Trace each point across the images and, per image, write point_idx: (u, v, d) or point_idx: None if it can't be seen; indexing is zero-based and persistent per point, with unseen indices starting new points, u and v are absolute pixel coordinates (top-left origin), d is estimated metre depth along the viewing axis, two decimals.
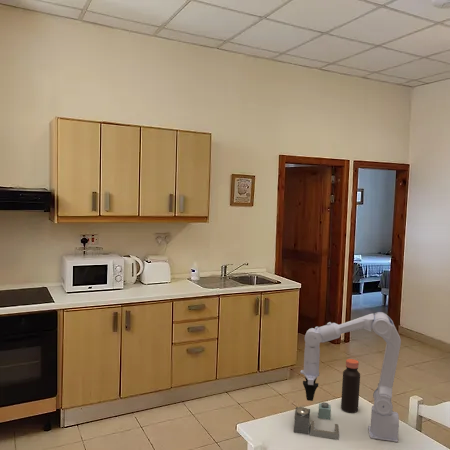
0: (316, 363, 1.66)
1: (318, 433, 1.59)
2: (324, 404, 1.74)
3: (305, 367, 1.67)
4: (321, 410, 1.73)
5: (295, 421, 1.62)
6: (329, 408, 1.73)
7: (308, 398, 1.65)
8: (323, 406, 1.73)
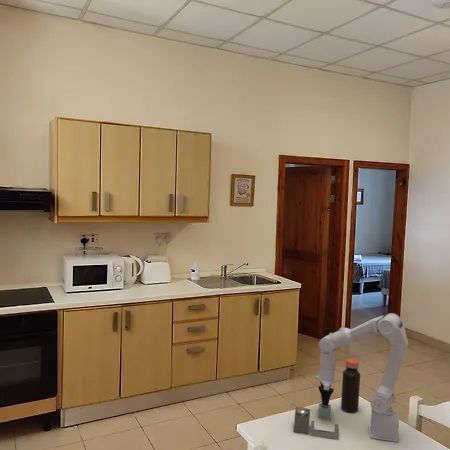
0: (331, 369, 1.71)
1: (318, 433, 1.59)
2: None
3: (321, 373, 1.72)
4: (321, 410, 1.73)
5: (295, 421, 1.62)
6: (329, 408, 1.73)
7: (323, 403, 1.70)
8: (323, 406, 1.73)
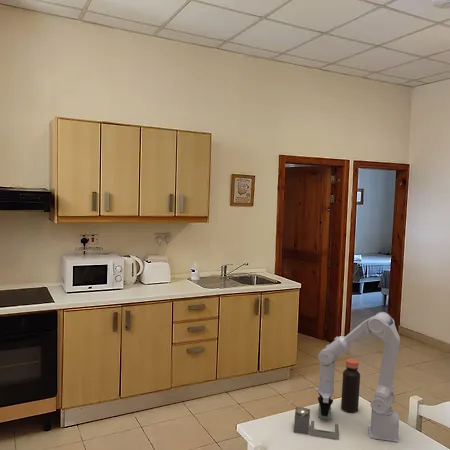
0: (331, 381, 1.71)
1: (318, 433, 1.59)
2: None
3: (320, 385, 1.73)
4: None
5: (295, 421, 1.62)
6: None
7: (323, 414, 1.72)
8: None
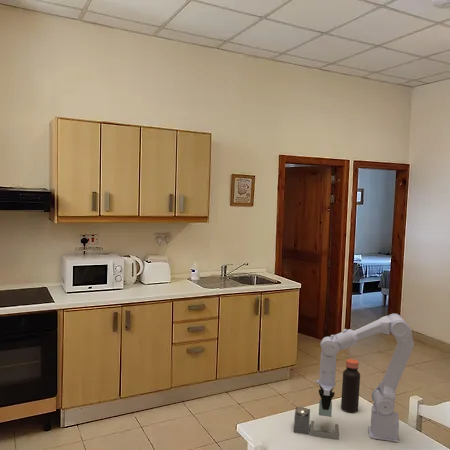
0: (332, 373, 1.62)
1: (318, 433, 1.59)
2: None
3: (321, 377, 1.63)
4: (321, 406, 1.63)
5: (295, 421, 1.62)
6: (330, 404, 1.64)
7: (324, 407, 1.62)
8: None
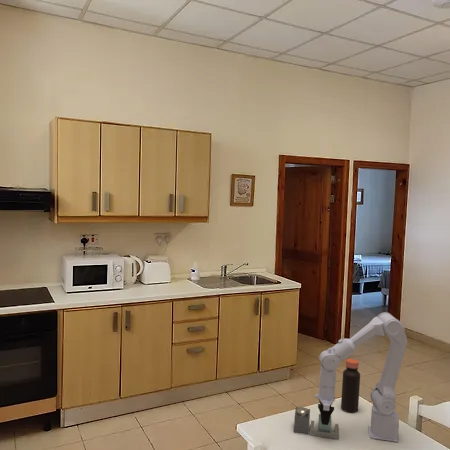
0: (332, 387, 1.59)
1: (318, 433, 1.59)
2: None
3: (320, 391, 1.61)
4: (321, 422, 1.61)
5: (295, 421, 1.62)
6: None
7: (323, 422, 1.60)
8: None
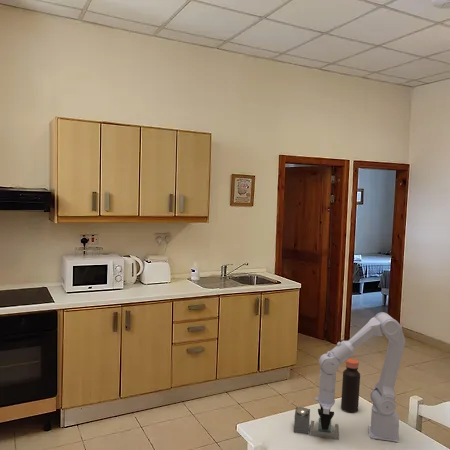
0: (332, 391, 1.60)
1: (318, 433, 1.59)
2: None
3: (320, 394, 1.61)
4: None
5: (295, 421, 1.62)
6: None
7: (323, 427, 1.59)
8: None
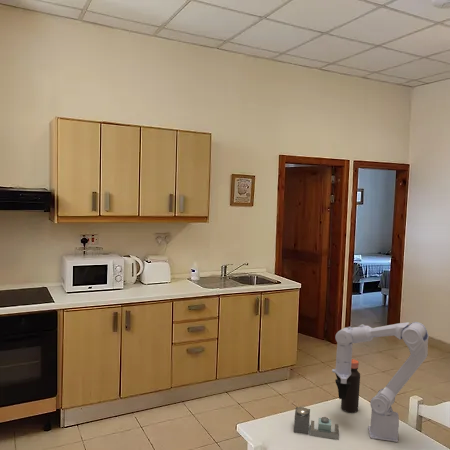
0: (349, 362, 1.68)
1: (318, 433, 1.59)
2: (324, 419, 1.62)
3: (337, 366, 1.69)
4: (321, 425, 1.61)
5: (295, 421, 1.62)
6: (329, 423, 1.61)
7: (340, 397, 1.67)
8: (323, 421, 1.62)
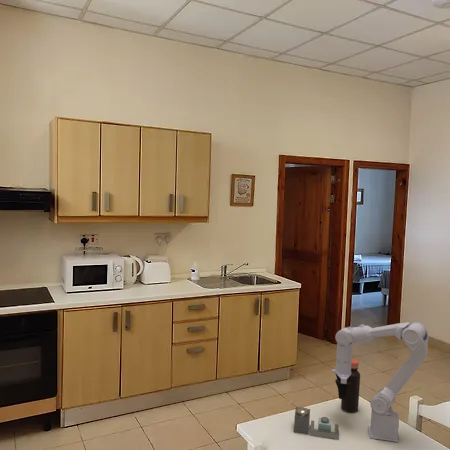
0: (349, 362, 1.68)
1: (318, 433, 1.59)
2: (324, 419, 1.62)
3: (337, 366, 1.69)
4: (321, 425, 1.61)
5: (295, 421, 1.62)
6: (329, 423, 1.61)
7: (340, 397, 1.67)
8: (323, 421, 1.62)
